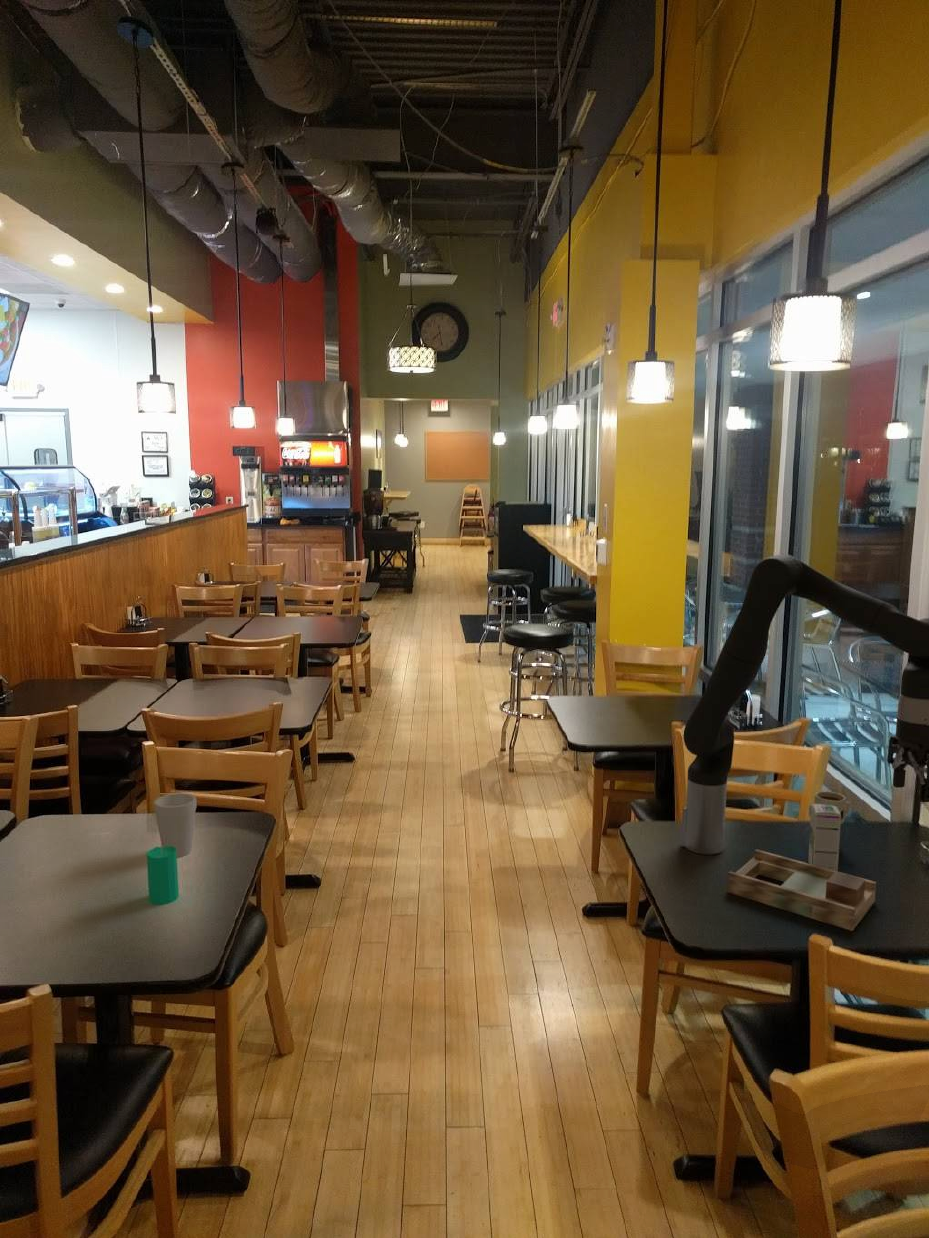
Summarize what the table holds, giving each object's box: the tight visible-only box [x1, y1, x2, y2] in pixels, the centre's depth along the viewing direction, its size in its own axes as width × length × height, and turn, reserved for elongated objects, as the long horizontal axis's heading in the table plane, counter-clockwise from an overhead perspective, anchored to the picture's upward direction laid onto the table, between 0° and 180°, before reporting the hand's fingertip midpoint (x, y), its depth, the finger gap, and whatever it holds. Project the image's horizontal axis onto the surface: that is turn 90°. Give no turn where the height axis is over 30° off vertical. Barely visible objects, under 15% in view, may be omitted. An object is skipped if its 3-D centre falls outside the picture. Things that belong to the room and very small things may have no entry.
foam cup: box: [153, 792, 197, 859], centre depth 209 cm, size 10×9×13 cm
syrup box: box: [807, 803, 841, 872], centre depth 203 cm, size 6×6×14 cm
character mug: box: [808, 790, 851, 849], centre depth 215 cm, size 11×7×13 cm, turn 102°
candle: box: [146, 843, 179, 905], centre depth 186 cm, size 6×6×12 cm
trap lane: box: [726, 849, 877, 932], centre depth 190 cm, size 26×16×4 cm, turn 51°
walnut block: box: [825, 871, 865, 906], centre depth 184 cm, size 6×6×4 cm
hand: (911, 794), depth 181 cm, fingers open, 8 cm apart
